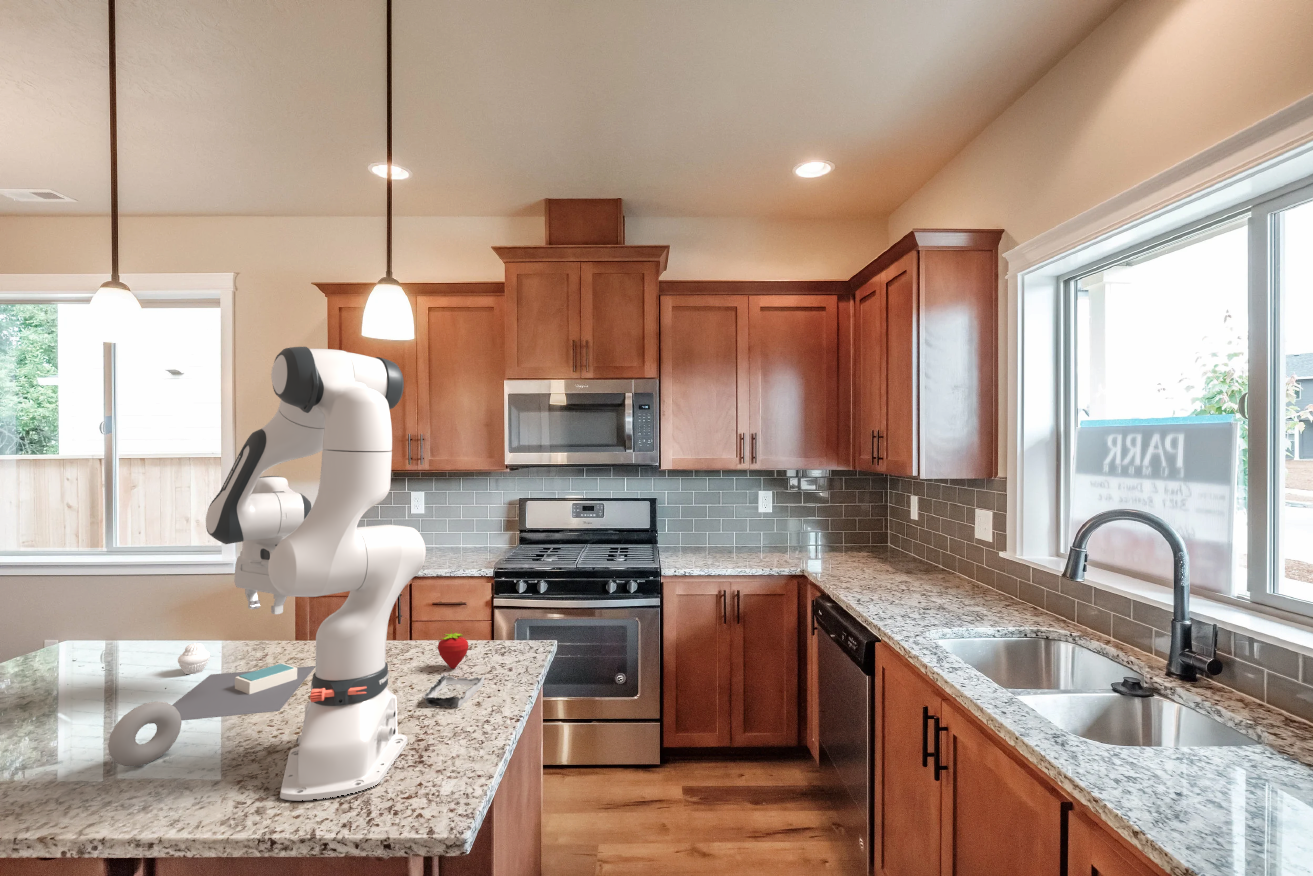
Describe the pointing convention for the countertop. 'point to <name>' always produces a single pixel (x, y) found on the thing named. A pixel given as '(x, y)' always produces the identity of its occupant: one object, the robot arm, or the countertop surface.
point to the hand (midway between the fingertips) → (265, 611)
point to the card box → (265, 678)
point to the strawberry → (453, 649)
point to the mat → (235, 697)
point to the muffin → (194, 658)
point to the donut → (127, 728)
